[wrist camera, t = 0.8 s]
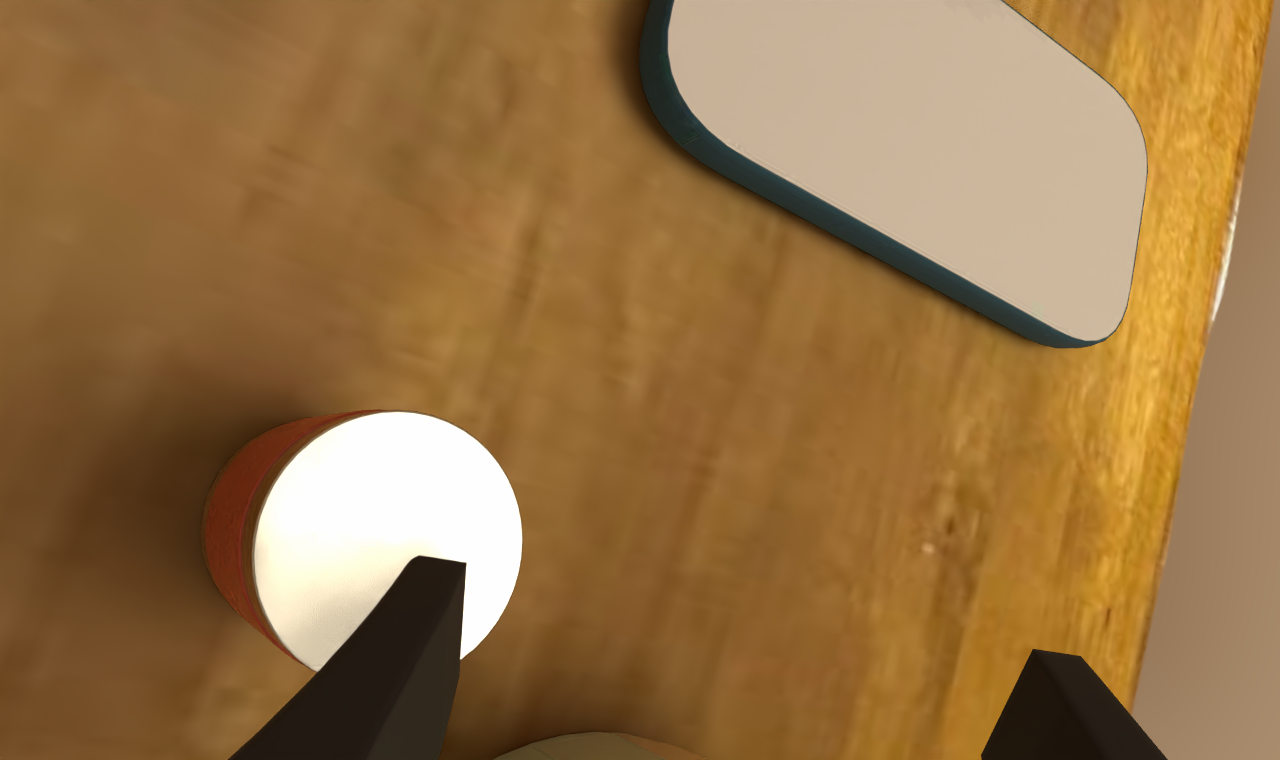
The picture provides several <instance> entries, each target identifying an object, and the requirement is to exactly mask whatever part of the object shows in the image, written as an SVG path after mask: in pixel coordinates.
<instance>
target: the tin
mask: <svg viewBox="0 0 1280 760" xmlns="http://www.w3.org/2000/svg"><path fill="white" fill-rule="evenodd" d="M201 546H202V551H203V556H204V560H205V563H206V566H207V569H208V572H209V574H210V576H211V578H212V580H213V582H214V584H215V586H216V587H217V588H218V590H219V591H220V592H221V594H222V595H223V597H224V598H225V599H226V600H227V601H228V603H229V604H230V606H231V607H232V608H233V609H234V610H235V611H236V612H237V613H238V614H239V615H240V616H241V617H242V618H244V619H245V620H246V621H247V622H248V623H250V624H251V625H252V626H253V627H254V628H256V629H257V630H258V631H259V632H260V633H261V634H263V635H264V636H265V637H266V638H267V639H269V640H270V641H271V642H272V643H273V644H274V645H276V646H277V647H278V648H279V649H281V650H282V651H283V652H285V653H286V654H287V655H288V656H290V657H291V658H292V659H294V660H296V661H298V662H300V663H301V664H303V665H305V666H306V667H308V668H309V669H311V670H313V671H314V672H316V673H317V672H318V671H319V670H320V669H321V668H322V667H323V666H324V665H325V663H326V662H327V661H328V660H329V659H330V658H331V657H332V656H333V655H334V653H335V652H336V651H337V650H338V649H339V648H340V647H341V646H342V645H343V643H344V642H345V641H346V640H347V639H348V638H349V637H350V636H351V635H352V633H353V632H354V631H355V630H356V629H357V628H358V626H359V625H360V624H361V623H362V622H363V620H364V619H365V618H366V617H367V616H368V614H369V613H370V612H371V611H372V610H373V608H374V607H375V606H376V605H377V603H378V602H379V601H380V600H381V598H382V597H383V596H384V595H385V593H386V592H387V591H388V589H389V588H390V587H391V585H392V584H393V583H394V581H395V580H396V579H397V578H398V576H399V575H400V573H401V572H402V571H403V569H404V568H405V566H406V565H407V563H408V562H409V561H410V560H411V559H413V558H415V557H416V556H418V555H421V556H428V557H434V558H441V559H448V560H454V561H461V562H467V567H466V582H465V597H464V612H463V627H462V642H461V657H460V661H461V660H462V659H464V658H465V657H466V656H467V655H468V654H470V653H471V652H472V651H473V650H474V649H476V647H477V646H478V645H479V644H480V643H481V642H482V641H483V640H484V639H485V638H486V637H487V636H488V635H489V633H490V632H491V630H492V629H493V628H494V626H495V625H496V624H497V622H498V621H499V619H500V618H501V616H502V614H503V612H504V611H505V609H506V607H507V605H508V603H509V601H510V598H511V596H512V594H513V591H514V589H515V585H516V582H517V579H518V575H519V571H520V565H521V559H522V548H523V532H522V520H521V515H520V510H519V505H518V502H517V499H516V496H515V492H514V490H513V487H512V485H511V483H510V481H509V479H508V477H507V475H506V473H505V472H504V470H503V468H502V467H501V465H500V464H499V462H498V461H497V459H496V458H495V457H494V456H493V455H492V453H491V452H490V451H489V450H488V449H487V448H486V447H485V446H484V445H483V444H482V443H481V442H480V441H479V440H478V439H477V438H475V437H474V436H473V435H471V434H470V433H468V432H467V431H466V430H464V429H463V428H461V427H459V426H457V425H455V424H453V423H451V422H449V421H448V420H445V419H442V418H439V417H437V416H434V415H431V414H426V413H421V412H417V411H407V410H362V411H355V412H347V413H339V414H332V415H324V416H316V417H310V418H305V419H299V420H296V421H293V422H290V423H286V424H283V425H280V426H277V427H274V428H272V429H270V430H268V431H266V432H263V433H261V434H260V435H258V436H256V437H255V438H253V439H252V440H250V441H248V442H247V443H246V444H245V445H244V446H242V447H241V448H240V449H239V450H238V451H236V452H235V454H234V455H233V456H232V457H231V458H230V459H229V460H228V461H227V462H226V463H225V465H224V466H223V468H222V469H221V470H220V472H219V473H218V475H217V476H216V478H215V480H214V482H213V484H212V486H211V488H210V490H209V493H208V495H207V498H206V501H205V505H204V509H203V513H202V520H201Z"/></svg>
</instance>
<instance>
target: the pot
mask: <svg viewBox="0 0 1280 760" xmlns="http://www.w3.org/2000/svg"><path fill="white" fill-rule="evenodd" d="M493 760H707V759H705V758H703V757H701V756H699V755H696V754H694V753H692V752H690V751H688V750H686V749H684V748H681V747H678V746H675V745H670V744H665V743H661V742H659V741H656V740H654V739H649V738H645V737H640V736H636V735H631V734H626V733H611V732H588V733H578V734H568V735H562V736H558V737H554V738H550V739H546V740H542V741H538V742H534V743H531V744H528V745H526V746H523V747H521V748H518V749H516V750H513V751H511V752H508V753H506V754H503V755H501V756H499V757H497V758H495V759H493Z"/></svg>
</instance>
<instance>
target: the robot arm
mask: <svg viewBox="0 0 1280 760" xmlns="http://www.w3.org/2000/svg"><path fill="white" fill-rule="evenodd" d="M466 567H467V562H461V561H454V560H448V559H441V558H434V557H428V556H421V555H418V556H416V557H415V558H413V559H411V560H410V561H409V562H408V563H407V565H406V566H405V568H404V569H403V571H402V572H401V573H400V575H399V576H398V578H397V579H396V580H395V581H394V583H393V584H392V585H391V587H390V588H389V589H388V591H387V592H386V593H385V595H384V596H383V597H382V598H381V600H380V601H379V602H378V603H377V605H376V606H375V607H374V608H373V610H372V611H371V612H370V613H369V614H368V616H367V617H366V618H365V619H364V620H363V622H362V623H361V624H360V625H359V626H358V628H357V629H356V630H355V631H354V632H353V633H352V635H351V636H350V637H349V638H348V639H347V640H346V641H345V642H344V643H343V645H342V646H341V647H340V648H339V649H338V650H337V651H336V652H335V653H334V655H333V656H332V657H331V658H330V659H329V660H328V661H327V662H326V663H325V665H324V666H323V667H322V668H321V669H320V670H319V671H318V672H317V673H316V674H315V675H314V677H313V678H312V679H311V680H310V681H309V682H308V683H307V684H306V685H305V686H304V687H303V688H302V689H301V690H300V691H299V692H298V693H297V694H296V695H295V696H294V697H293V698H292V699H291V700H290V701H289V702H288V703H287V704H286V705H285V706H284V707H283V708H282V709H281V710H280V711H279V712H278V713H277V714H276V715H275V716H274V717H273V718H272V719H271V720H270V721H269V722H268V723H267V724H266V725H265V726H264V727H263V728H262V729H261V730H260V731H259V732H257V733H256V734H255V735H254V736H253V737H252V738H251V739H250V740H249V741H248V742H247V743H246V744H244V745H243V746H242V747H241V748H240V749H239V750H238V751H237V752H236V753H235V754H234V755H232V756H231V757H230V758H229V759H228V760H438V758H439V755H440V752H441V748H442V744H443V740H444V736H445V732H446V729H447V725H448V721H449V717H450V712H451V708H452V704H453V700H454V696H455V692H456V688H457V683H458V679H459V672H460V657H461V642H462V627H463V612H464V597H465V582H466ZM981 758H982V760H1167V759H1166V757H1165V756H1164V755H1163V754H1162V752H1161V751H1160V750H1159V749H1158V748H1157V746H1156V745H1155V744H1154V743H1153V742H1152V740H1151V739H1150V738H1149V737H1148V736H1147V734H1146V733H1145V732H1144V731H1143V730H1142V728H1141V727H1140V726H1139V725H1138V723H1137V722H1136V721H1135V720H1134V719H1133V717H1132V716H1131V715H1130V714H1129V713H1128V711H1127V710H1126V709H1125V708H1124V707H1123V705H1122V704H1121V703H1120V702H1119V701H1118V699H1117V698H1116V697H1115V696H1114V695H1113V693H1112V692H1111V691H1110V690H1109V689H1108V687H1107V686H1106V685H1105V684H1104V683H1103V681H1102V680H1101V679H1100V678H1099V677H1098V676H1097V674H1096V673H1095V672H1094V671H1093V670H1092V669H1091V667H1090V666H1089V665H1088V664H1087V663H1086V662H1085V661H1084V659H1083V658H1082V657H1081V656H1076V655H1070V654H1063V653H1056V652H1050V651H1043V650H1037V649H1033V650H1032V652H1031V654H1030V656H1029V658H1028V660H1027V662H1026V664H1025V666H1024V668H1023V670H1022V672H1021V674H1020V676H1019V679H1018V681H1017V683H1016V685H1015V687H1014V689H1013V691H1012V693H1011V695H1010V697H1009V699H1008V701H1007V703H1006V705H1005V707H1004V709H1003V711H1002V713H1001V715H1000V717H999V719H998V722H997V724H996V726H995V728H994V730H993V732H992V734H991V736H990V738H989V740H988V742H987V744H986V746H985V748H984V750H983V752H982V754H981Z"/></svg>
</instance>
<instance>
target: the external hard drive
mask: <svg viewBox="0 0 1280 760" xmlns="http://www.w3.org/2000/svg"><path fill="white" fill-rule="evenodd" d="M639 69H640V74H641V80H642V85H643V90H644V93H645V95H646V98H647V100H648V103H649V105H650V108H651V110H652V112H653V113H654V115H655V116H656V118H657V119H658V121H659V122H660V124H661V125H662V127H663V128H664V129H665V130H666V131H667V133H668V134H669V135H670V136H671V137H672V138H673V139H674V140H675V141H676V142H677V143H678V144H679V145H680V146H681V147H682V148H683V149H685V150H686V151H687V152H688V153H690V154H691V155H692V156H694V157H695V158H696V159H697V160H699V161H700V162H702V163H703V164H705V165H706V166H708V167H710V168H711V169H713V170H715V171H716V172H718V173H720V174H721V175H723V176H725V177H727V178H729V179H730V180H732V181H734V182H736V183H738V184H740V185H742V186H743V187H745V188H747V189H749V190H751V191H753V192H755V193H757V194H758V195H760V196H762V197H764V198H766V199H768V200H770V201H771V202H773V203H775V204H777V205H779V206H781V207H783V208H785V209H786V210H788V211H790V212H792V213H794V214H796V215H798V216H799V217H801V218H803V219H805V220H807V221H809V222H811V223H813V224H814V225H816V226H818V227H820V228H822V229H824V230H826V231H827V232H829V233H831V234H833V235H835V236H837V237H839V238H841V239H842V240H844V241H846V242H848V243H850V244H852V245H854V246H855V247H857V248H859V249H861V250H863V251H865V252H867V253H869V254H870V255H872V256H874V257H876V258H878V259H880V260H882V261H883V262H885V263H887V264H889V265H891V266H893V267H895V268H897V269H898V270H900V271H902V272H904V273H906V274H908V275H910V276H911V277H913V278H915V279H917V280H919V281H921V282H923V283H925V284H926V285H928V286H930V287H932V288H934V289H936V290H938V291H939V292H941V293H943V294H945V295H947V296H949V297H951V298H953V299H954V300H956V301H958V302H960V303H962V304H964V305H966V306H967V307H969V308H971V309H973V310H975V311H977V312H979V313H981V314H982V315H984V316H986V317H988V318H990V319H992V320H994V321H995V322H997V323H999V324H1001V325H1003V326H1005V327H1007V328H1009V329H1010V330H1012V331H1014V332H1016V333H1018V334H1020V335H1022V336H1023V337H1025V338H1028V339H1030V340H1032V341H1034V342H1037V343H1039V344H1042V345H1046V346H1050V347H1054V348H1082V347H1088V346H1092V345H1095V344H1097V343H1100V342H1103V341H1105V340H1106V339H1107V338H1108V337H1110V336H1111V335H1112V334H1113V333H1114V332H1115V331H1116V330H1117V328H1118V326H1119V325H1120V323H1121V322H1122V320H1123V317H1124V314H1125V312H1126V309H1127V305H1128V300H1129V295H1130V290H1131V285H1132V279H1133V272H1134V265H1135V259H1136V252H1137V246H1138V239H1139V232H1140V226H1141V219H1142V212H1143V206H1144V199H1145V191H1146V182H1147V173H1148V164H1147V151H1146V145H1145V139H1144V136H1143V133H1142V130H1141V127H1140V124H1139V122H1138V120H1137V118H1136V116H1135V114H1134V112H1133V111H1132V109H1131V108H1130V106H1129V105H1128V103H1127V102H1126V101H1125V99H1124V98H1123V97H1122V96H1121V95H1120V94H1119V93H1118V91H1117V90H1116V89H1115V88H1114V87H1113V86H1112V85H1111V84H1109V83H1108V82H1107V81H1106V80H1105V79H1104V78H1103V77H1101V76H1100V75H1099V74H1098V73H1096V72H1095V71H1094V70H1093V69H1091V68H1090V67H1089V66H1087V65H1086V64H1085V63H1083V62H1082V61H1081V60H1080V59H1078V58H1077V57H1076V56H1074V55H1073V54H1072V53H1070V52H1069V51H1068V50H1067V49H1065V48H1064V47H1063V46H1061V45H1060V44H1059V43H1058V42H1056V41H1055V40H1054V39H1052V38H1051V37H1050V36H1048V35H1047V34H1046V33H1045V32H1043V31H1042V30H1041V29H1039V28H1038V27H1037V26H1035V25H1034V24H1033V23H1032V22H1030V21H1029V20H1028V19H1026V18H1025V17H1024V16H1023V15H1021V14H1020V13H1019V12H1017V11H1016V10H1015V9H1013V8H1012V7H1011V6H1010V5H1008V4H1007V3H1006V2H1004V1H1003V0H650V4H649V7H648V11H647V14H646V18H645V21H644V26H643V31H642V36H641V41H640V58H639Z"/></svg>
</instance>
